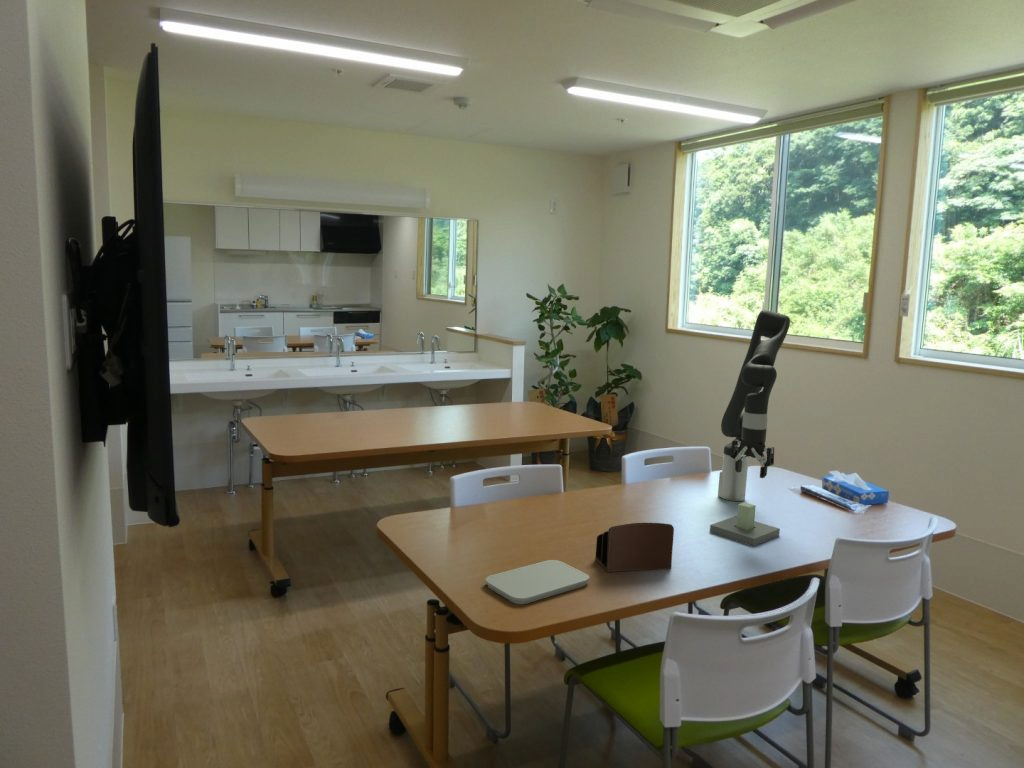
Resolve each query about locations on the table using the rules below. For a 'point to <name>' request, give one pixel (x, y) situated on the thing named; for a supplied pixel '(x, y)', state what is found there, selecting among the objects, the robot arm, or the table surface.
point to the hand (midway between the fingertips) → (750, 474)
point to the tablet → (536, 581)
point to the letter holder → (635, 547)
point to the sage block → (745, 516)
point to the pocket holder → (744, 531)
